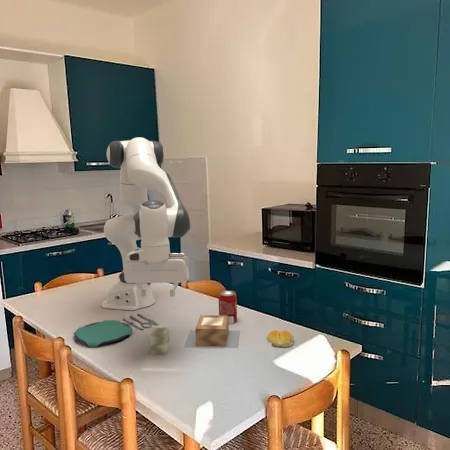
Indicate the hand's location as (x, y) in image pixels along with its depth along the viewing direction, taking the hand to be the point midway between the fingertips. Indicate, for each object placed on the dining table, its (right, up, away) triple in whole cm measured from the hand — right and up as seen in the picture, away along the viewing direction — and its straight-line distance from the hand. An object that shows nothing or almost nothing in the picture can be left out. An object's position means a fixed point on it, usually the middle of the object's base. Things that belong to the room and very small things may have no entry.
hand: (158, 295), depth 138 cm
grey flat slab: (+17, -18, +12) cm, 27 cm away
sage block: (0, -19, +3) cm, 20 cm away
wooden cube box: (+17, -17, +12) cm, 27 cm away
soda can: (+22, -15, +27) cm, 38 cm away
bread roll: (+40, -18, +10) cm, 45 cm away
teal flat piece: (-19, -17, +23) cm, 34 cm away
